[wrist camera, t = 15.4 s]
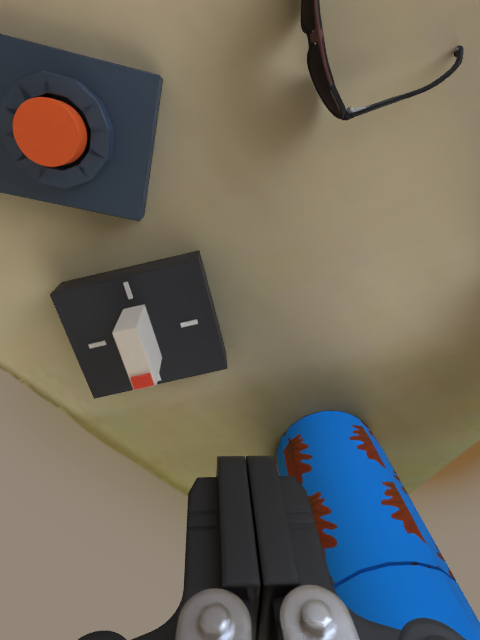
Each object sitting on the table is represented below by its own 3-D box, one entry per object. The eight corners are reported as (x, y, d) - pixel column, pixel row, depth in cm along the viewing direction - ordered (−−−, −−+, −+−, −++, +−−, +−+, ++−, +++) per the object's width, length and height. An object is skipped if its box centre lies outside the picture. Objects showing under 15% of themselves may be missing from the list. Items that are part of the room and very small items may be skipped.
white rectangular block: (122, 308, 35) (111, 334, 30) (144, 303, 35) (136, 328, 30) (141, 362, 37) (133, 392, 32) (162, 357, 37) (156, 387, 32)
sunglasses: (276, -39, 29) (301, -75, 24) (439, -80, 30) (492, -121, 25) (306, 128, 33) (332, 125, 29) (448, 88, 34) (495, 78, 30)
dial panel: (199, 250, 36) (198, 260, 34) (226, 352, 40) (227, 369, 38) (61, 282, 37) (48, 295, 34) (101, 380, 41) (93, 400, 38)
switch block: (162, 78, 31) (157, 72, 28) (144, 216, 35) (136, 226, 31) (-14, 33, 29) (-45, 19, 26) (-14, 183, 33) (-42, 189, 29)
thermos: (287, 500, 48) (361, 831, 25) (262, 426, 44) (324, 743, 21) (382, 474, 48) (544, 788, 25) (366, 396, 44) (544, 689, 21)
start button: (89, 107, 28) (81, 106, 27) (84, 170, 30) (76, 173, 28) (26, 92, 28) (13, 89, 26) (23, 157, 29) (11, 159, 27)
